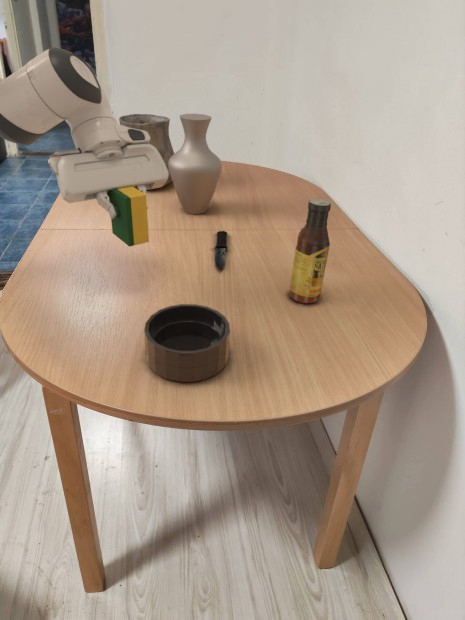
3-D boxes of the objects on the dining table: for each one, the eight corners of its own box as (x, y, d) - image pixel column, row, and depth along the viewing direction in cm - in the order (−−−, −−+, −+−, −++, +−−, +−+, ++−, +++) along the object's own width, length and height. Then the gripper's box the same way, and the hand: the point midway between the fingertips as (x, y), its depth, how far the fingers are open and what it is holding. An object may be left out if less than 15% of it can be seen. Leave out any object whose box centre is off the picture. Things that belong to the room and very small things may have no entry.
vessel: (96, 184, 143) (88, 117, 132) (146, 170, 159) (143, 108, 148) (146, 200, 133) (142, 129, 122) (194, 183, 149) (194, 118, 138)
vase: (202, 223, 121) (203, 124, 107) (159, 211, 126) (155, 116, 113) (229, 208, 132) (234, 116, 118) (188, 197, 137) (188, 108, 124)
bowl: (176, 396, 66) (175, 365, 63) (131, 350, 75) (129, 320, 71) (244, 362, 74) (246, 332, 70) (197, 324, 82) (197, 296, 79)
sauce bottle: (313, 308, 88) (330, 211, 77) (283, 299, 91) (296, 203, 80) (324, 294, 93) (341, 200, 82) (296, 285, 96) (309, 193, 85)
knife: (216, 230, 115) (228, 230, 115) (216, 235, 115) (228, 235, 115) (212, 268, 97) (226, 268, 97) (212, 274, 98) (226, 274, 98)
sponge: (129, 246, 82) (125, 198, 77) (112, 233, 86) (107, 187, 82) (149, 241, 84) (146, 194, 79) (131, 229, 89) (127, 183, 84)
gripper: (46, 142, 75) (77, 217, 74) (155, 131, 86) (183, 196, 85) (42, 162, 80) (71, 233, 79) (145, 149, 91) (171, 211, 90)
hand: (130, 214), depth 82 cm, fingers closed on sponge, 4 cm apart
